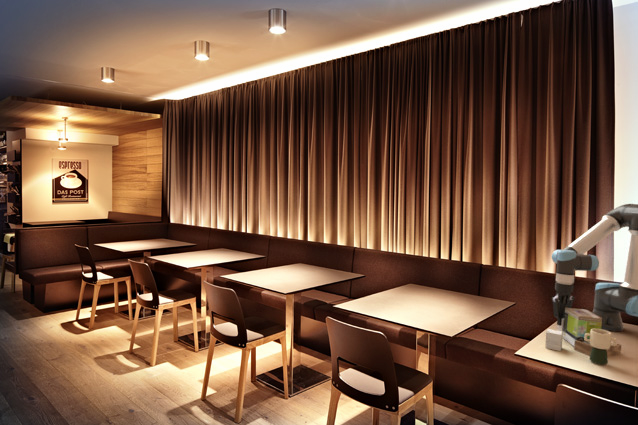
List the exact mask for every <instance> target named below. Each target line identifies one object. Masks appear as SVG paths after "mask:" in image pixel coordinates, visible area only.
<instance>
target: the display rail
mask: <svg viewBox="0 0 638 425" xmlns="http://www.w3.org/2000/svg"><path fill="white" fill-rule="evenodd" d="M622 346H623V345H622V344H619V343H616V346H610V348H609V349H606V350H607V356H608V357H610V356H612V357H613V356H618V355H621V354H622ZM573 347H574V348H573V350H574V351H576V352H579V353H582V354H584V355H587V356H589V357H590V354H591V350H592V348H593V346H591V345H589V344H586V343H583V342H580V341H577V340H576V341H575V345H574V346H573Z"/></svg>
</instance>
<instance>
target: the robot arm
mask: <svg viewBox="0 0 638 425" xmlns="http://www.w3.org/2000/svg"><path fill="white" fill-rule="evenodd" d="M622 228H628V230H627V231H628V232H629V233H630V234H631V236H630V242H629V247H628V249H629V250H628V255H627V262H626V266H625V273H624V280H623V282H622V283H617V282H597V283H596V284H595V289H594V298H593V299H594V300H593V310H592V311H591V312H592V313H594V314H595V315H597V316H599V317H601V318H602V325H601V329H602V330H606V331H609V332H610V331H611V332H621V331H623V330H624V324H623V319H622V317H621V316H622V315H621V313H624V314H627V315H629V316H633V317H637V318H638V203H637V204H636V203H626V204H622V205H619V206H617V207H615V208H613V209H612V210H610V211H608V212H606V213H605V214H604V215H603V216H602V217H601V220H600V221H599V222H597V223H596V224H594V225H593V226H591V228H589V229H588V230H586V231H585V232H584V233H583V234H581V235H580V236H578V238H576V239H575V240H574V241H572V242H571V243H570V244H568V245H567V246H566V247H565V248H563V249H555V250H554V251H553V253H552V254H551V259H552V262H554V264H556V268H555V269H556V273H555V283H554V284H555V285H554V289H555V291H556V293H555V296H554V297H553V296H552V297H551V302H552V310H553V317H555V318H556V330H557V331H563V329H564V317H565V308H572V307H573V304H574V301H575V298H576V297H575V296H573V295H572V293H573V291H574V283H575V273H576V272H575V271H578V272H579V271H581V272H583V271H584V272H585V271H586V272H591V271H592V272H593V271H596V270H597V269H598V268H599V267H600V260H599V258H598V256H596V255H593V254H586V253H587V252H588V251H589V250H591V249H592V248H594V247H595V246H596V245H597V244H599V243H600V242H601V241H603V240H604V239H605V238H607V237H608V236H609V235H611V234H612V233H613V232H618V231H619V230H621V229H622Z"/></svg>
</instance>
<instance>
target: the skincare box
mask: <svg viewBox="0 0 638 425" xmlns="http://www.w3.org/2000/svg"><path fill="white" fill-rule="evenodd" d="M563 339H564V338H563V331H557V329H552V328H547V330H546V331H545V347H544V348H545V349H547V350H554V351H557V352H561V351H562V348H563Z"/></svg>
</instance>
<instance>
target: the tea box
mask: <svg viewBox="0 0 638 425" xmlns="http://www.w3.org/2000/svg"><path fill="white" fill-rule="evenodd" d="M592 312H593V311H590V310H588V309H583V308H574V307H573V308H565V317H564V329H563V338H562V339H564V340H565V341H566V342H568V343H569V344H571V345H572V346H573V347H574V345H575V341H576V340H577V341H580V342H583V343H586V344H589V345H590V342H588V341H585V340H584V337H585V333H588V334H590V331H591V329H601V325H602V318H601V317H599V316H597V315H595V314H594V313H592ZM587 339H590V336H587Z"/></svg>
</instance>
